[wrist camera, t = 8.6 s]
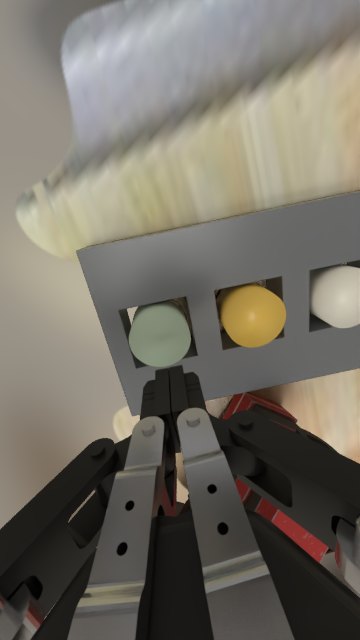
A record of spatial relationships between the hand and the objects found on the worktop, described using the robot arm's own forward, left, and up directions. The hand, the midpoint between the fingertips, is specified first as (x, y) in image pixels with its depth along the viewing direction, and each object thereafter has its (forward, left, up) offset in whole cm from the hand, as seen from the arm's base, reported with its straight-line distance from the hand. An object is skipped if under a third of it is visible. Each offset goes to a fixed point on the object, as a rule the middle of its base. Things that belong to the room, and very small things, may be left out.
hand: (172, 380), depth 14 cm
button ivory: (-13, 0, -8) cm, 16 cm away
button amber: (-6, 0, -8) cm, 10 cm away
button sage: (+1, 0, -8) cm, 8 cm away
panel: (-6, 0, -9) cm, 11 cm away
